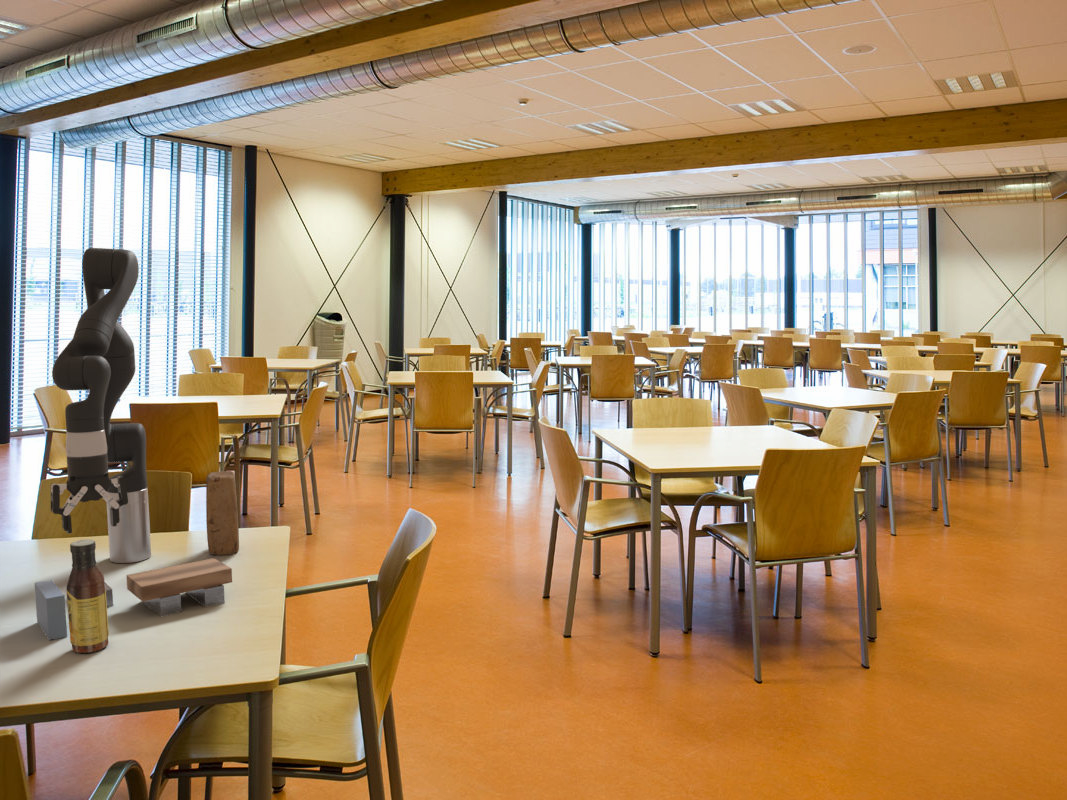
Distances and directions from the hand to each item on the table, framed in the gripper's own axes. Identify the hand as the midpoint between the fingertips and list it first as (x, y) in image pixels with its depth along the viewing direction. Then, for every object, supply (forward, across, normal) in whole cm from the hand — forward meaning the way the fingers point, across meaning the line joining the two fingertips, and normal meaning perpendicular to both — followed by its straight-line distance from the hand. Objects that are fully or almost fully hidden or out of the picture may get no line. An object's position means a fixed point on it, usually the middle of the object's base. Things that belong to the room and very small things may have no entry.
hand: (91, 529), depth 183 cm
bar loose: (+16, 0, 0) cm, 16 cm away
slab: (+12, -13, +13) cm, 22 cm away
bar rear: (+16, -18, +13) cm, 27 cm away
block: (+15, -34, -20) cm, 42 cm away
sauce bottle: (+16, +7, +28) cm, 33 cm away
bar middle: (+16, -10, +13) cm, 22 cm away
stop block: (+15, +11, +13) cm, 23 cm away
